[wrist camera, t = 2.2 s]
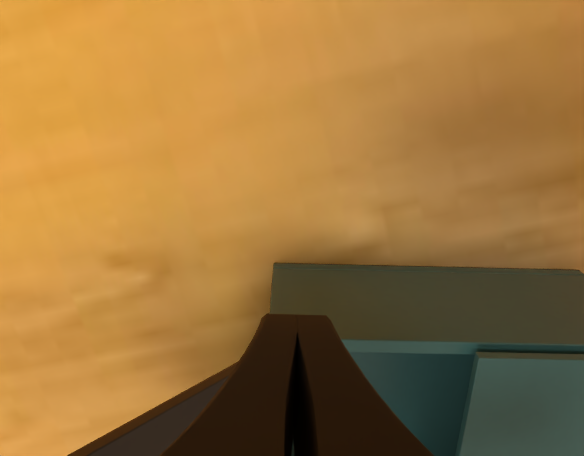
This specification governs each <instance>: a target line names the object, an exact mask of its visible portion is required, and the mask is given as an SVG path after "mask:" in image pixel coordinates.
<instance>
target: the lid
mask: <svg viewBox="0 0 584 456" xmlns="http://www.w3.org/2000/svg"><path fill="white" fill-rule="evenodd" d="M237 364H238V362H237V363H235V364H233V365H231V366H230V367H228V368H226V369H224V370H222V371H220V372H219V373H217V374H215V375H213V376H211V377H209V378H208V379H206V380H204V381H202V382H200V383H199V384H197V385H195V386H193V387H191V388H189V389H188V390H186V391H184V392H182V393H180V394H178V395H177V396H175V397H173V398H171V399H169V400H168V401H166V402H164V403H162V404H160V405H158V406H157V407H155V408H153V409H151V410H149V411H147V412H146V413H144V414H142V415H140V416H138V417H136V418H135V419H133V420H131V421H129V422H127V423H126V424H124V425H122V426H120V427H118V428H116V429H115V430H113V431H111V432H109V433H107V434H105V435H104V436H102V437H100V438H98V439H96V440H95V441H93V442H91V443H89V444H87V445H85V446H84V447H82V448H80V449H78V450H76V451H74V452H73V453H71V454H69V455H67V456H159V455H160V454H161V453H162V452H163V451H164V450H165V449H166V448H168V447H169V446H170V445H171V444H172V443H173V442H174V441H175V440H176V439H177V438H178V437H179V436H180V435H181V433H182V432H183V431H184V430H185V429H186V428H187V427H188V426H189V425H190V424H191V423H192V422H193V421H194V419H195V418H196V417H197V416H198V415H199V414H200V413H201V411H202V410H203V409H204V408H205V407H206V405H207V404H208V403H209V402H210V401H211V399H212V398H213V397H214V395H215V394H216V393H217V391H218V390H219V389H220V387H221V386H222V385H223V384H224V382H225V381H226V380H227V378H228V377H229V376H230V374H231V373H232V371H233V370H234V368H235V367H236V365H237Z"/></svg>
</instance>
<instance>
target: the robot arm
mask: <svg viewBox="0 0 584 456" xmlns="http://www.w3.org/2000/svg"><path fill="white" fill-rule="evenodd" d="M293 444H294V455H295V456H434V455H433V454H432V453H431V452H430V451H429V450H428V449H427V448H426V447H425V446H424V445H423V444H422V443H421V442H420V441H419V440H418V439H417V438H416V437H415V436H414V435H413V433H412V432H411V431H410V430H409V429H408V428H407V427H406V426H405V425H404V424H403V423H402V422H401V420H400V419H399V418H398V417H397V416H396V415H395V414H394V412H393V411H392V410H391V409H390V408H389V406H388V405H387V404H386V403H385V402H384V400H383V399H382V398H381V397H380V395H379V394H378V393H377V392H376V390H375V389H374V388H373V386H372V385H371V384H370V382H369V381H368V380H367V378H366V377H365V375H364V374H363V372H362V371H361V370H360V368H359V367H358V365H357V364H356V363H355V361H354V360H353V358H352V357H351V355H350V353H349V352H348V350H347V349H346V347H345V345H344V344H343V342H342V340H341V339H340V337H339V335H338V333H337V332H336V330H335V328H334V326H333V324H332V321H331V320H330V319H329V318H328V317H327V316H326V315H298V314H266V315H265V316H264V317H263V318H262V319H261V322H260V325H259V327H258V329H257V331H256V333H255V335H254V337H253V339H252V341H251V343H250V344H249V346H248V348H247V350H246V351H245V353H244V354H243V356H242V357H241V359H240V360H239V362H238V364H237V365H236V367H235V368H234V370H233V371H232V373H231V374H230V376H229V377H228V378H227V380H226V381H225V382H224V384H223V385H222V386H221V387H220V389H219V390H218V391H217V393H216V394H215V395H214V397H213V398H212V399H211V401H210V402H209V403H208V404H207V405H206V407H205V408H204V409H203V410H202V411H201V413H200V414H199V415H198V416H197V417H196V418H195V419H194V421H193V422H192V423H191V424H190V425H189V426H188V427H187V428H186V429H185V430H184V431H183V432H182V433H181V435H180V436H179V437H178V438H177V439H176V440H175V441H174V442H173V443H172V444H171V445H170V446H169V447H168V448H166V449H165V450H164V451H163V452H162V453H161V454H160V455H159V456H291V454H292V445H293Z"/></svg>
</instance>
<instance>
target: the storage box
mask: <svg viewBox="0 0 584 456" xmlns="http://www.w3.org/2000/svg"><path fill="white" fill-rule="evenodd" d="M269 314H298V315H326V316H327V317H328V318H329V319H330V320H331V321H332V324H333V326H334V328H335V330H336V332H337V333H338V335H339V337H340V339H341V340H342V342H343V344H344V345H345V347H346V349H347V350H348V352H349V353H350V355H351V357H352V358H353V360H354V361H355V363H356V364H357V365H358V367H359V368H360V370H361V371H362V372H363V374H364V375H365V377H366V378H367V380H368V381H369V382H370V384H371V385H372V386H373V388H374V389H375V390H376V392H377V393H378V394H379V395H380V397H381V398H382V399H383V400H384V402H385V403H386V404H387V405H388V406H389V408H390V409H391V410H392V411H393V412H394V414H395V415H396V416H397V417H398V418H399V419H400V420H401V422H402V423H403V424H404V425H405V426H406V427H407V428H408V429H409V430H410V431H411V432H412V433H413V435H414V436H415V437H416V438H417V439H418V440H419V441H420V442H421V443H422V444H423V445H424V446H425V447H426V448H427V449H428V450H429V451H430V452H431V453H432V454H433V455H434V456H584V274H583V273H582V272H580V271H579V270H555V269H512V268H468V267H424V266H381V265H337V264H293V263H274V265H273V277H272V289H271V301H270V313H269ZM291 456H295V455H294V444H293V445H292V454H291Z"/></svg>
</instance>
